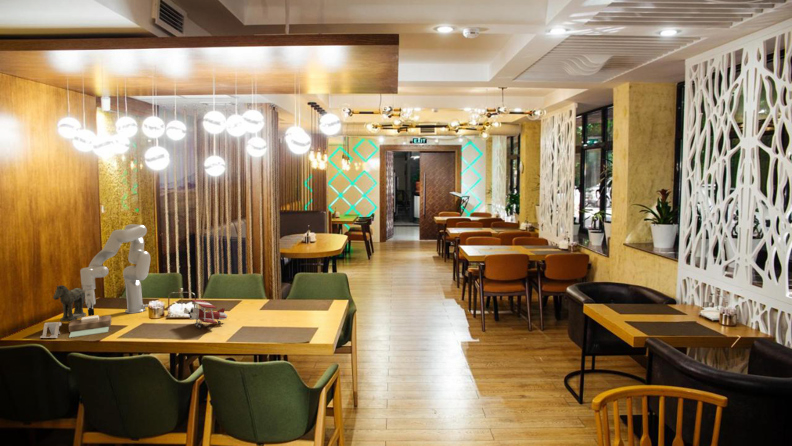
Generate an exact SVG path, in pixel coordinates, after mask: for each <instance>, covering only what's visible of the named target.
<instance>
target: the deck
mask: <svg viewBox="0 0 792 446" xmlns="http://www.w3.org/2000/svg"><path fill="white" fill-rule="evenodd" d="M81 319H82V318H79V319H76V320H72V321H69V323H68V332H70V333H71V332H74V331H81V330H88V329H95V328H102V327H109V328H111V327H112V315H103V316H99V320H98V321H92V322H84V323H82V321H81Z"/></svg>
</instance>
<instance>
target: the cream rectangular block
mask: <svg viewBox="0 0 792 446" xmlns="http://www.w3.org/2000/svg"><path fill="white" fill-rule="evenodd" d="M99 317H100V315H92V316H84V317H81V318H80V319H81V321H82V323H84V322H92V321H98V320H99Z"/></svg>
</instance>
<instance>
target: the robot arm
mask: <svg viewBox="0 0 792 446" xmlns="http://www.w3.org/2000/svg"><path fill="white" fill-rule="evenodd" d="M147 232H148V229H147V227H146V225H144V224H134V223H133V224H132V223H131V224H127V225H125V227H124V229H114V230H113V231H112V232H111V234H110V235H109V237H108V239H107V241H106V242H105V245H104V246H103V248H102V249H101V250H100V251H99V252H97V253H96V255H95V256H94V257H92V259H91V261H90V262H89V265H88V267H83V268H82V267H81V269H80V271H79V272H80V283H81V289H82V290H83V291H84V293H85V299H84V303H85V306H87V315H88V316H87V317H89V316H95V309H94V305H96V302H97V301H96V294H95V289H97V287H96V279H97V278H104V277H106V276H108V275H109V271H110V269H109V268H108V267H107V266H106V265H103V264H104V263H105V261H107V260H108V259H110V258H113V257H114V256H116V255H117V253H119V250H120V248H121V246H122V244H123V243H126V244H127V243H130V247H129V252H128V256H127V259H128V262H129V263H130V264H133V265H128V266H126V267H125V268H124V269H123V271H122V275H123V280H124V285H125V295H126V305H127V306H126V308H127V309H125V310H124V313H125V314H137V313H142V312H145V311H146V309H147V308H149V307H148V305H149V304H150V303H149V304H148V303H145V304H144V302H143V295H142V292H143V290H142V283H141V281H145V279H147V278H148V276H149V271H150V265H151V254H150V252H148V251H146V250H145V240H144V237H145V236H147Z"/></svg>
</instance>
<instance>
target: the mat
mask: <svg viewBox="0 0 792 446" xmlns="http://www.w3.org/2000/svg"><path fill="white" fill-rule="evenodd" d="M109 328H110V327H102V328H95V329H88V330H81V331H74V332H70V334H69V336H68V338H69V339H70V338H71V337H72V338H78V337H84V336H91V335H98V334H105V333H109ZM72 338H71V339H72Z"/></svg>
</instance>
